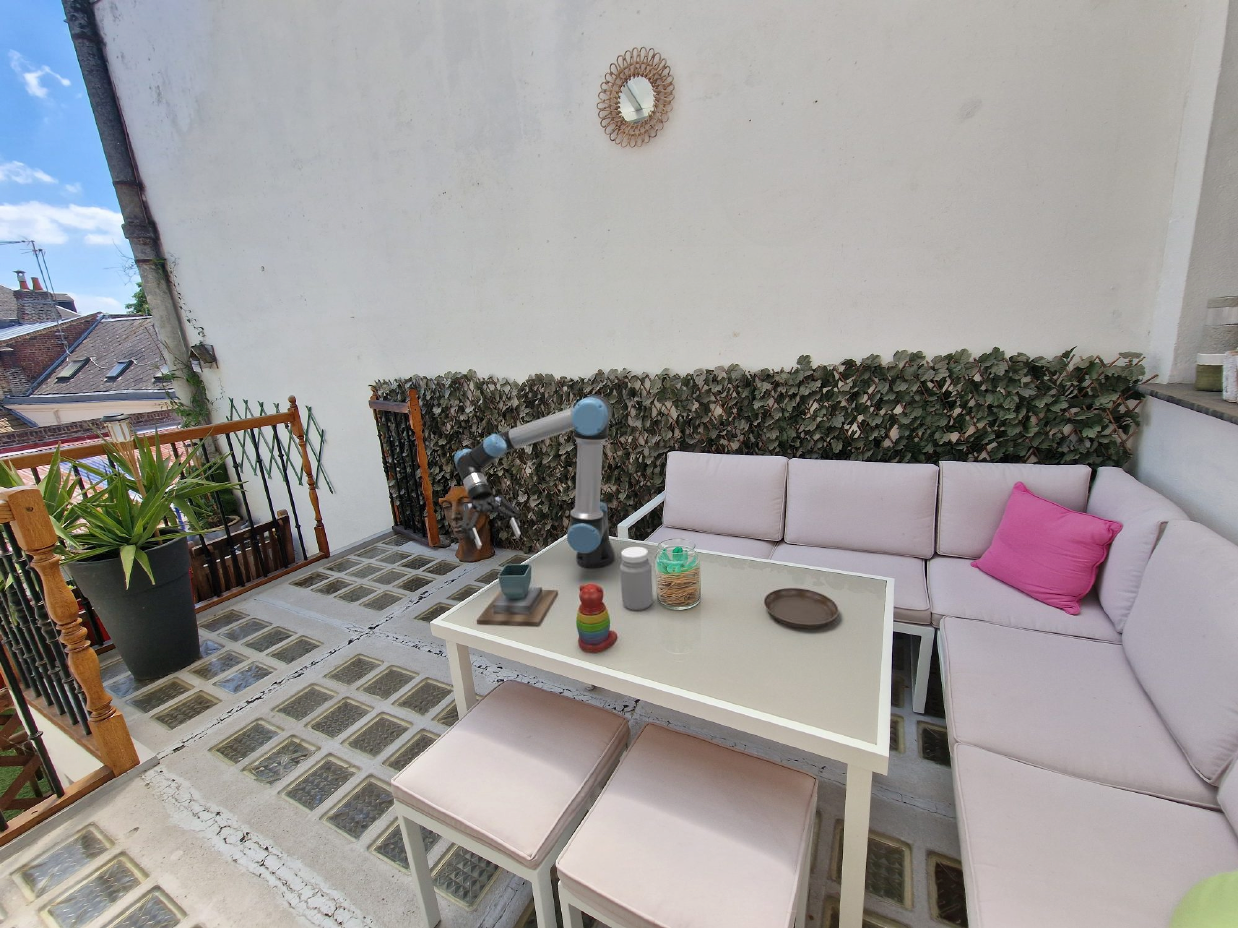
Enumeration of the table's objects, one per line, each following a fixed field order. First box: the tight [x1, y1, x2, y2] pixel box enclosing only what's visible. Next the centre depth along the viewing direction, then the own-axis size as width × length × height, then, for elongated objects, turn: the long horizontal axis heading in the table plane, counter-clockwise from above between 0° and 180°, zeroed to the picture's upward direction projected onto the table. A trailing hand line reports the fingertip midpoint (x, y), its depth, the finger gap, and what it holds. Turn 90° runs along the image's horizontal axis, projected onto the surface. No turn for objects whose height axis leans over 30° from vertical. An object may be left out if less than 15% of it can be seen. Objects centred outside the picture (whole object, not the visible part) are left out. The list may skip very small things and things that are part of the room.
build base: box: [476, 586, 559, 627], centre depth 163 cm, size 20×20×4 cm
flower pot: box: [497, 563, 532, 599], centre depth 162 cm, size 9×9×9 cm
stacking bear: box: [575, 583, 618, 653], centre depth 140 cm, size 11×10×18 cm
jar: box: [619, 546, 654, 611], centre depth 159 cm, size 10×10×18 cm
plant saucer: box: [763, 587, 839, 630], centre depth 149 cm, size 21×21×3 cm
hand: (499, 541), depth 167 cm, fingers open, 13 cm apart
